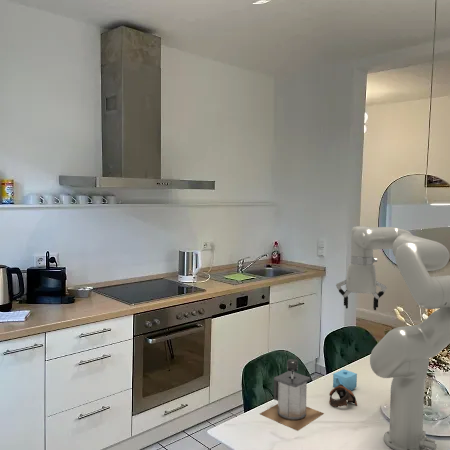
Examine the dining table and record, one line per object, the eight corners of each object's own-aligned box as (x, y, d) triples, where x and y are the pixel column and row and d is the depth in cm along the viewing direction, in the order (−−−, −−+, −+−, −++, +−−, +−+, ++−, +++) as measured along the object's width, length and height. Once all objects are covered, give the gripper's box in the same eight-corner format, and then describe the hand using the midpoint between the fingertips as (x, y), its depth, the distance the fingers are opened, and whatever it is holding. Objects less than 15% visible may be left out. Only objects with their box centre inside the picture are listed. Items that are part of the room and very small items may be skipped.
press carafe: (311, 413, 156) (312, 377, 155) (295, 423, 148) (295, 386, 148) (283, 402, 164) (283, 368, 163) (266, 411, 157) (266, 375, 156)
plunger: (305, 406, 155) (306, 360, 154) (294, 413, 151) (294, 366, 149) (289, 400, 160) (290, 356, 159) (278, 406, 155) (278, 361, 154)
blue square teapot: (341, 397, 171) (341, 378, 170) (327, 391, 176) (328, 373, 175) (358, 388, 179) (359, 370, 178) (345, 383, 183) (345, 365, 183)
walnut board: (324, 416, 156) (324, 413, 156) (297, 434, 144) (297, 430, 144) (286, 401, 167) (286, 398, 167) (259, 417, 155) (259, 413, 155)
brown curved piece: (362, 414, 159) (353, 396, 157) (337, 423, 160) (328, 406, 158) (354, 391, 170) (345, 374, 168) (331, 400, 172) (322, 384, 170)
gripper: (386, 260, 161) (385, 307, 162) (336, 258, 165) (335, 304, 166) (388, 263, 154) (387, 312, 155) (336, 261, 158) (335, 309, 159)
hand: (360, 308), depth 161 cm, fingers open, 9 cm apart
